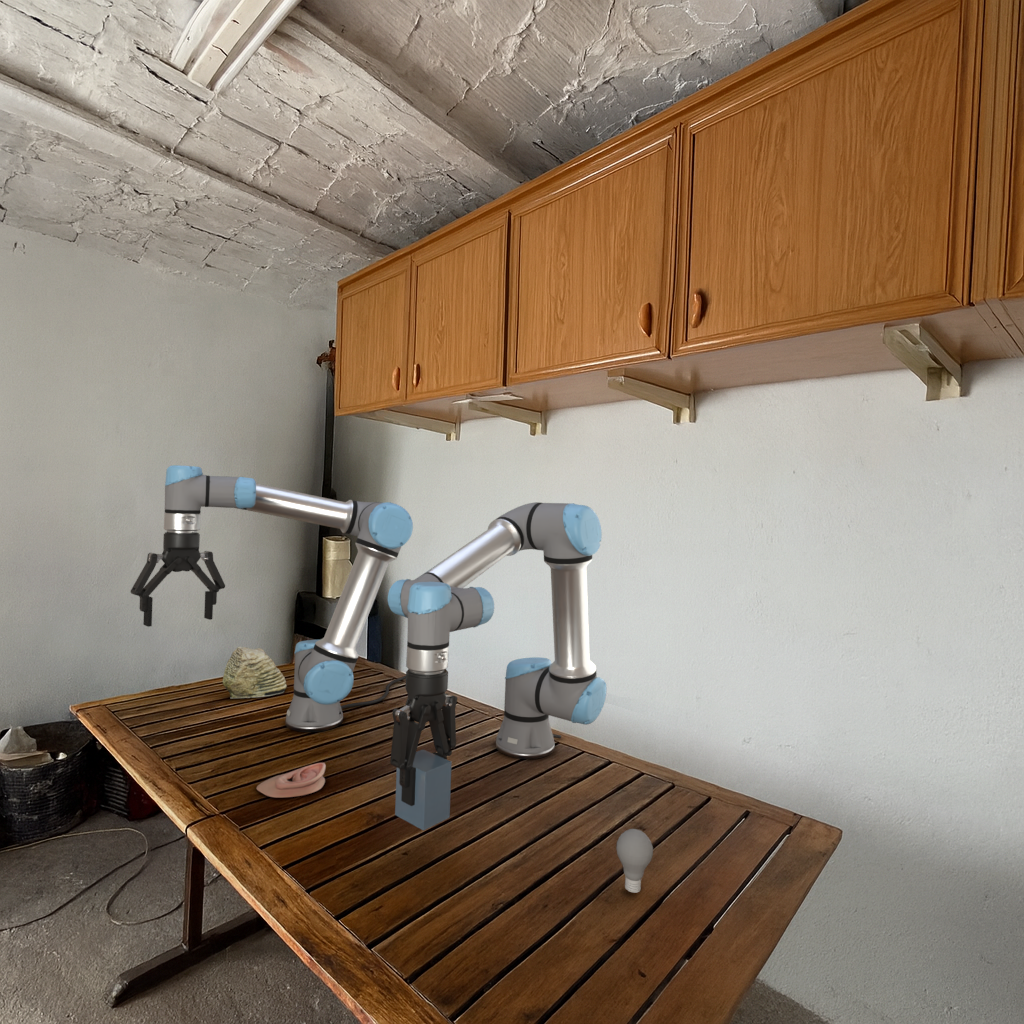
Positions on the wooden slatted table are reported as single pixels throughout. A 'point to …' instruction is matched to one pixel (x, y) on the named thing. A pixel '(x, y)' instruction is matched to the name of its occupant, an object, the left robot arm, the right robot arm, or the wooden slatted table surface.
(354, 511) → the left robot arm
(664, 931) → the wooden slatted table surface
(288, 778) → the anatomical model
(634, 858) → the light bulb
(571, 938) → the wooden slatted table surface
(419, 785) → the brick
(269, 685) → the fossil
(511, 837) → the wooden slatted table surface
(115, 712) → the wooden slatted table surface
